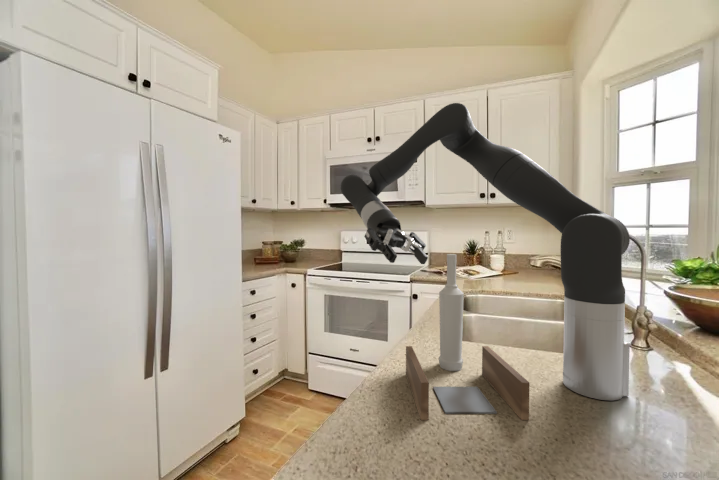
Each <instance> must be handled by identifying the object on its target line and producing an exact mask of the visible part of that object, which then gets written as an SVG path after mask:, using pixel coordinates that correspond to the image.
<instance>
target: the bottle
mask: <svg viewBox="0 0 719 480" xmlns="http://www.w3.org/2000/svg"><path fill="white" fill-rule="evenodd" d="M464 294H465V293H464V291H462V290H461V289H460V288H459V286H458V284H457V254H456V253H455V254H454V253H447V254H446V284H444V287H443V288H442V289H440V291H439V294H438V295H439V357H438V364H439V366H440V368H441V369H443V370H446V371H448V372H457V371H458V372H460V371H461V370H462V368H463V364H464V359H463V355H462V354H463V324H464V323H463V322H464Z"/></svg>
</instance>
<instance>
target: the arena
mask: <svg viewBox="0 0 719 480" xmlns="http://www.w3.org/2000/svg"><path fill="white" fill-rule="evenodd" d="M481 348H482V349H481V352H482V353H481V354H482V355H481V359H482V360H481V375H482V377H484V378H485V380H486V381H487V382H488V383H489V385H490V386H491V387H492V388H493V389H494V391H496V393H498V395H499V396H500V397H501V398H502V399H503V401H504V402H505V403H506V404H507V405H508V406H509V407H510V409H511V410H512V411H513V412H514V413H515V414H516V415H517V416H518V417H519V419H520V420H521V421H529V420H530V382H529V380H527V379H526V378H525V377H524V376H523V375H521V374H520V373H519V372H518V371H517V370H515V368H514V367H512V366H511V365H510V364H509V363H508V362H507V361H505V360H504V359H503V358H502V357H501V356H500V355H499V354H498V353H497V352H496V351H494V350H493V349H492V348H491V347H490V346H487V345H482V347H481ZM405 376H406V379H407V382H408V384H409V385H408V386H409V388H410V391H411V394H412V396H413V400H414V403H415V406H416V409H417V412H418V416H419V419H420V420H421V421H429V420H430V419H429V418H430V416H429V411H430V410H429V408H430V407H429V406H430V405H429V403H430V401H429V400H430V399H429V398H430V397H429V395H430V392H429V390H430V389H429V387H430V382H429V380H428V378H427V375H426V374H425V372H424V369H423V367H422V366H421V363H420V361H419V358H418V357H417V355H416V353H415V350H414V348H413V346H412V345H406V346H405ZM432 389H433V391H434V393H435V395H436V398H437V399H438V402H439V403H440V406H441V408H442V410H443V412H444V414H447V415H448V414H451V415H452V414H453V415H454V414H455V415H456V414H460V415H461V414H464V415H465V414H466V415H467V414H468V415H469V414H470V415H471V414H472V415H473V414H474V415H477V414H478V415H479V414H480V415H481V414H483V415H484V414H488V415H489V414H491V415H492V414H495V415H496V414H498V411H497V410H496V409H495V407H494V406H493V405H492V403H490V401H489V400H488V397H486V396H485V395H484V393H483V392H482V390H480V388H479V386H433V387H432Z"/></svg>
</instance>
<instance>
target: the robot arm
mask: <svg viewBox="0 0 719 480" xmlns="http://www.w3.org/2000/svg"><path fill="white" fill-rule="evenodd" d="M439 141H440V143H441V144H442V146H443V147H444V148H445V149H447V150H448V151H450V152H451V153H453V154H455V155H456V156H457V157H459V158H461V159H462V160H464V161H466V162H467V163H468V164H470V165H471V166H472V167H473V168H474V169H475V170H476V171H477V173H478V174H479V175H481V176H482V178H483V179H485V180H486V181H487V182H488V183H489V184H491V185H492V186H493V187H494V188H495V189H496V190H497V191H499V193H501V194H502V195H503V196H505V197H506V198H507V199H509V200H510V201H511V202H513V203H515V204H516V205H518V206H520V207H521V208H524V209H525V210H527V211H529V212H531V213H533V214H535V216H537V217H540V218H542V219H543V220H545V221H546V222H548V223H549V224H551V225H552V226H553V227H554V228H555V229H556V230H557V231H558V232H560V234H561V237H560V280H561V282H562V285H563V292H564V296H563V297H564V301H563V305H564V306H563V351H562V352H563V354H562V355H563V357H562V358H563V361H562V383H563V385H564V386H565V387H566V388H567V389H569V390H570V391H572V392H575V393H576V394H579V395H580V396H584V397H588V398H592V399H596V400H602V401H618V400H621V399H622V398H623V397H628V396H629V389H630V388H629V387H630V386H629V384H630V343H627V342H625V320H626V319H625V317H626V316H625V312H626V307H625V306H626V289H625V288H626V287H625V286H624V282H623V278H622V275H623V274H622V273H623V271H622V268H623V267H622V266H623V265H622V264H623V263H622V259H623V258H622V256H623V255H624V253H626V252H627V250H628V248H629V246H630V242H631V241H630V239H631V237H630V232H629V231H628V228H627V227H626V226H625V224H624V223H623V222H622V221H621V220H620V219H617V218H616V217H613V216H612V215H610V214H608V213H606V212H604V211H602V210H600V209H599V208H597V207H595V206H594V205H592V204H590V203H588V202H587V201H585V200H583V199H582V198H580V197H579V196H577V195H576V194H575V193H573V192H572V191H571V190H569V189H568V188H567V187H566V186H564V184H563V183H561V182H560V181H559V180H558V179H557V178H555V177H554V176H553V175H552V174H551V173H550V172H548V171H547V170H546V169H545V168H543V167H542V166H541V165H539V164H538V163H537V162H535V160H532V159H531V158H530V157H529V156H527V155H526V154H524V153H523V152H521V151H520V150H518V149H515V148H512V147H510V146H505V145H500V144H496V143H494V142H492V141H491V140H489V139H488V138H487V137H486V136H484V135H483V134H482V132H480V131H479V130H478V129H477V128H476V125H475V124H474V121H473V119H472V116H471V114H470V111H469V109H468V107H467V106H466V105H465V104H462V103H460V102H453V103H449V104H447V105H445V106H444V107H442V108H440V110H438V111H437V112H436V113H435V114H433V115H432V116H431V117H430V118H429V119H428V120H427V121H426V122H425V123H424V124H423V125H422V126H420V127H419V128H418V129H417V130H416V131H415V132H414V133H413V134H412V135H411V136H409V138H408V139H407V140H405V142H403V143H402V144H401V145H400V146H398V147H397V149H395V150H393V151H392V152H390V154H388V155H386V156H385V157H384V158H382V159H380V160H379V161H378V162H377V163H375V164H374V165H371V167H370V168H369V170H368V173H369V176H370V179H371V181H370V182H369V183H368V184H367V183H366V182H365V180H364V179H362V177H361V176H359V175H357V174H353V173H352V174H349V175H346V176H345V177H344V178H343V179H342V180H341V183H340V191H341V192H340V193H341V194H342V196H344V198H345V199H346V200H347V201H348V202H349V203H350V205H352V206H353V208H354V210H355V211H356V212H357V214H358V216H359V217H360V219H362V222H363V224H364V226H365V227H366V232H365V234H364V238H365V240H366V242H367V244H368V245H369V247H370V249H371V250H372V251H374V252H377V251H378V252H380V253H381V254H383V256H384V257H385V259H386V260H388V262H389V263H392V264H393V263H395V261H396V260H397V257H398V255H397V253H396V252H395V249H393V248H398V249H400V250H403V251H404V252H406V253H407V252H409V253H410V254H413V256H414V258H416V260H417V261H418V262H419V264H420V265H425V264H426V262H427V261H428V258H429V256H428V255H427V254H426V252H425V251H424V249H425V248H426V247H427V245H426V243H425V242H424V241H423V240H422V239H421V238H420V237H419V236H418V235H417V234H416V233H415V232H414V231H411V232H410V233H409V234H408V233H406V232H405V231H403V230H402V226H401V225H402V224H401V222H400V220H399V219H398V218H397V217H396V215H395V214H394V213H393V211H391V209H390V208H389V207H388V206H387V205H386V204H384V203H383V202H382V201H381V200H380V198H379V197H378V196H379V195H380V194H381V193H382V192H383V191H384V190H385V189H386V188H387V187H388V186H389V185H391V184H393V183H394V182H395V181H398V180H399V179H400V178H401V177H403V176H404V175H405V174H407V173H408V171H410V169H411V168H412V167H413V166H414V165H415V163H416V161H417V160H418V159H419V158H420V156H421V155H422V153H424V152H425V150H427V149H428V148H429V147H430V146H432V145H433V144H435V143H436V142H439ZM406 242H407V244H406ZM405 244H406V246H405Z"/></svg>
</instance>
